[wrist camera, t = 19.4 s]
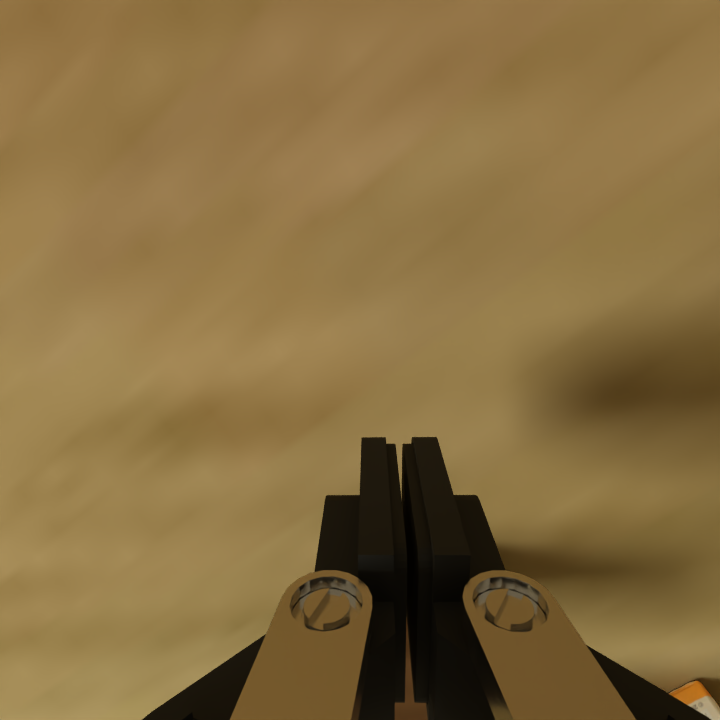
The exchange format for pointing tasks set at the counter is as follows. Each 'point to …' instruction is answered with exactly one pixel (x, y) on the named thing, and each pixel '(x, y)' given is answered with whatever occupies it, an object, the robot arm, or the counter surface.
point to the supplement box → (698, 699)
